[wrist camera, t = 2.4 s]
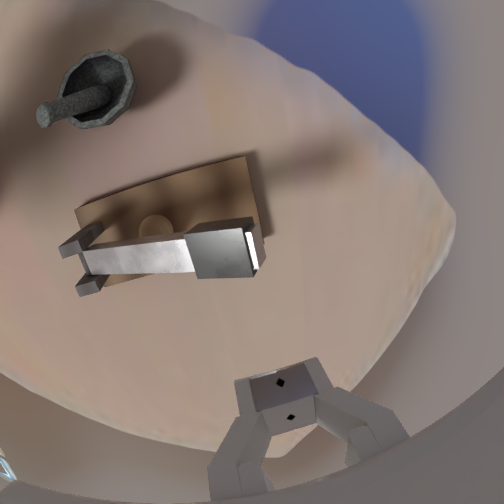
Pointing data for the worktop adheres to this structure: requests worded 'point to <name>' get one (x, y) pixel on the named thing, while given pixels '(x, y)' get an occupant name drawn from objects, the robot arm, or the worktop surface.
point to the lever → (186, 251)
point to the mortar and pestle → (92, 92)
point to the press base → (161, 211)
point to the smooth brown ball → (155, 226)
